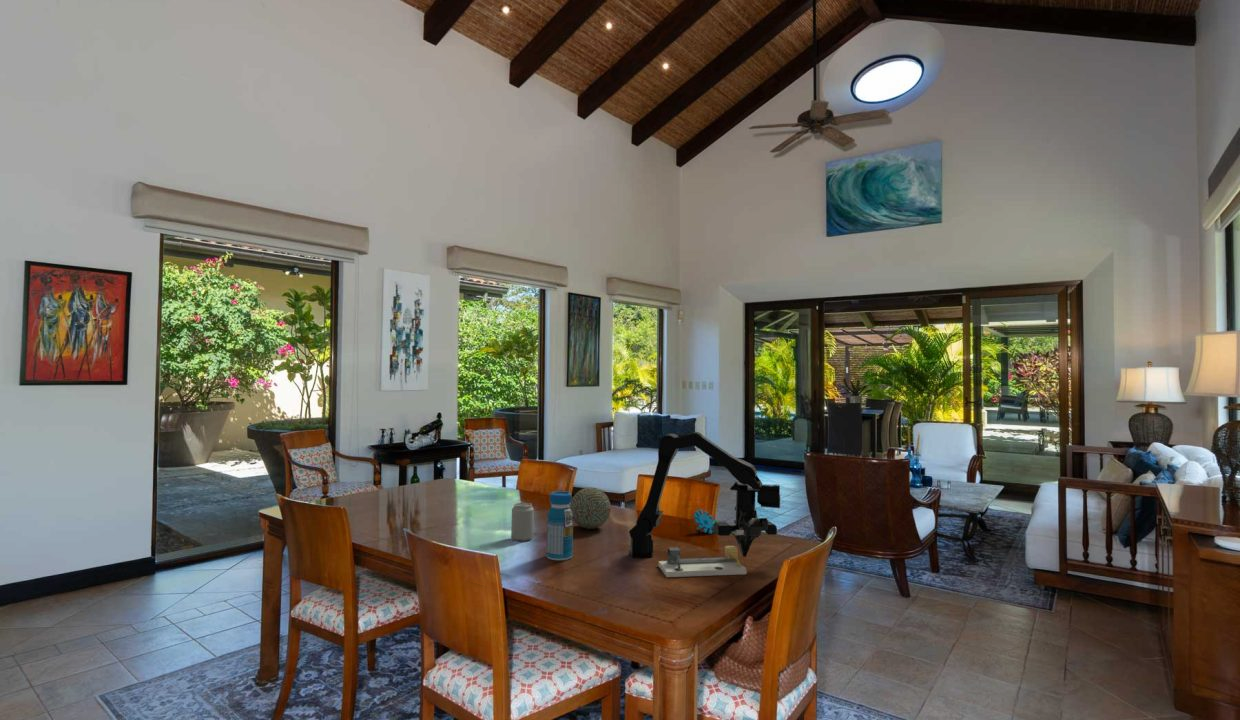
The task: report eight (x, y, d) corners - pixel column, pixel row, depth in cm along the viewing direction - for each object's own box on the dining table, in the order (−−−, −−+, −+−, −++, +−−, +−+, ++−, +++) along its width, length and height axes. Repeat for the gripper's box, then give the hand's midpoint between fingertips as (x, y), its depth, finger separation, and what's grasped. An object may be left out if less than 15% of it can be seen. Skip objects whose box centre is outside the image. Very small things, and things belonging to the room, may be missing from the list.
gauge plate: (666, 577, 182) (666, 571, 182) (658, 566, 191) (658, 560, 191) (746, 574, 186) (746, 568, 186) (734, 563, 196) (734, 558, 196)
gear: (702, 531, 226) (691, 508, 232) (692, 541, 229) (682, 517, 236) (724, 532, 232) (713, 509, 239) (715, 541, 235) (704, 517, 242)
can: (506, 540, 216) (507, 505, 216) (518, 535, 223) (519, 500, 223) (526, 543, 213) (526, 507, 213) (537, 537, 220) (537, 503, 220)
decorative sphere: (580, 521, 244) (581, 482, 244) (616, 526, 238) (617, 486, 238) (562, 530, 230) (563, 489, 230) (600, 535, 224) (600, 493, 224)
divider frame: (672, 570, 183) (673, 555, 183) (666, 561, 191) (666, 547, 191) (745, 567, 187) (745, 553, 187) (735, 559, 195) (735, 545, 195)
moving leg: (733, 566, 186) (734, 553, 186) (724, 558, 194) (725, 545, 194) (743, 566, 187) (743, 553, 187) (734, 558, 195) (734, 545, 195)
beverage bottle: (546, 561, 193) (547, 496, 194) (545, 553, 202) (546, 490, 202) (573, 560, 195) (575, 495, 195) (571, 552, 203) (573, 490, 203)
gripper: (725, 511, 184) (723, 565, 184) (785, 511, 187) (784, 563, 187) (713, 503, 195) (711, 554, 195) (770, 502, 198) (768, 552, 198)
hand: (744, 556), depth 194 cm, fingers closed
